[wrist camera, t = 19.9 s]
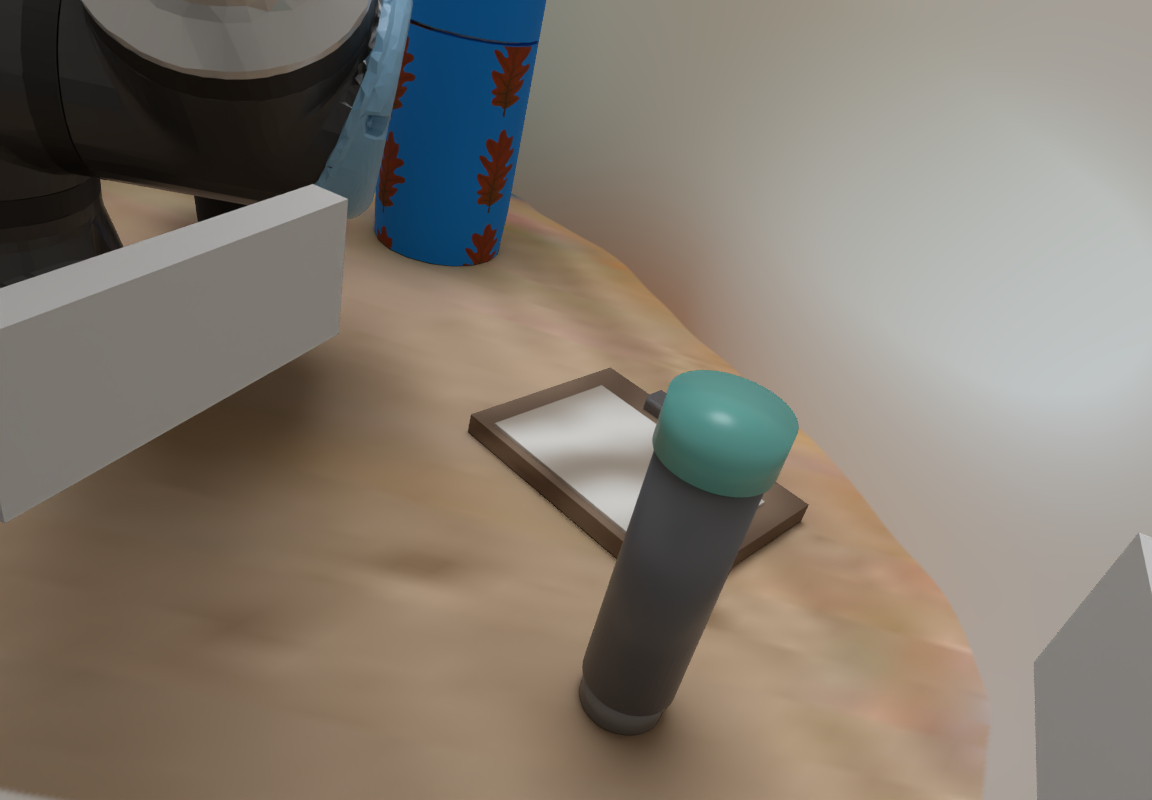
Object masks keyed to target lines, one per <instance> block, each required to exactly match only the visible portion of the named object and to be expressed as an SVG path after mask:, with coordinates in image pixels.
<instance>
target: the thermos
mask: <svg viewBox="0 0 1152 800" xmlns="http://www.w3.org/2000/svg"><path fill="white" fill-rule="evenodd" d="M412 1H413V8H412V13H411V19H410V24H409V30H408V35H407V40H406V45H405V50H404V55H403V60H402V66H401V71H400V76H399V80H398V85H397V90H396V95H395V99H394V103H393V108H392V113H391V118H390V121H389V126H388V132H387V137H386V142H385V147H384V152H383V157H382V162H381V166H380V171H379V176H378V181H377V185H376V199H375V233H376V235H377V238H378V240H379V241H381V242H382V243H383V244H384V245H385V246H387V247H388V248H389V249H391V250H393V251H395V252H397V253H399V254H402V255H404V256H406V257H408V258H412V259H416V260H419V261H423V262H427V263H431V264H440V265H448V266H466V265H476V264H480V263H483V262H487V261H489V260H491V259H492V258H493V257H495V256H496V255H497V254H498V250H499V246H500V242H501V238H502V233H503V229H504V225H505V221H506V217H507V213H508V208H509V202H510V197H511V191H512V185H513V180H514V175H515V169H516V163H517V158H518V153H519V147H520V142H521V136H522V130H523V125H524V120H525V114H526V109H527V103H528V97H529V92H530V87H531V81H532V75H533V70H534V64H535V59H536V53H537V48H538V42H539V37H540V31H541V26H542V21H543V15H544V9H545V4H546V0H412Z"/></svg>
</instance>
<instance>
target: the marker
mask: <svg viewBox="0 0 1152 800" xmlns="http://www.w3.org/2000/svg"><path fill="white" fill-rule="evenodd" d="M798 429H799V427H798V421H797V418H796V416H795V414H794V413H793V411H792V410H791V408H790V407H789V406H788V405H787V404H786V403H785V402H784V401H783V400H782V399H781V398H779V397H778V396H777V395H775V394H774V393H772V392H771V391H770V390H768V389H766V388H765V387H763V386H761V385H759V384H757V383H755V382H752V381H750V380H748V379H745V378H742V377H740V376H736V375H733V374H729V373H725V372H719V371H710V370H696V371H689V372H686V373H682V374H680V375H678V376H677V377H675V378H674V379H673V380H672V381H671V383H670V385H669V388H668V391H667V394H666V397H665V400H664V403H663V406H662V409H661V412H660V415H659V418H658V421H657V424H656V427H655V430H654V433H653V437H652V444H653V449H654V451H653V454H652V457H651V460H650V463H649V466H648V469H647V472H646V475H645V478H644V481H643V484H642V487H641V490H640V493H639V496H638V499H637V502H636V505H635V508H634V510H633V513H632V516H631V519H630V522H629V525H628V528H627V531H626V534H625V537H624V540H623V543H622V546H621V549H620V552H619V555H618V558H617V561H616V564H615V567H614V570H613V573H612V576H611V579H610V582H609V585H608V588H607V591H606V594H605V597H604V600H603V602H602V605H601V608H600V611H599V614H598V617H597V620H596V623H595V626H594V629H593V632H592V635H591V638H590V641H589V644H588V647H587V650H586V653H585V656H584V659H583V666H582V668H583V677H582V680H581V683H580V687H579V695H580V700H581V703H582V706H583V708H584V710H585V711H586V713H587V714H588V715H589V717H590V718H591V719H592V720H593V721H594V722H596V723H597V724H598V725H599V726H601V727H603V728H604V729H606V730H608V731H611V732H613V733H616V734H621V735H637V734H641V733H644V732H646V731H648V730H650V729H651V728H653V727H654V726H655V725H656V723H657V722H658V720H659V718H660V716H661V714H662V712H663V710H664V709H666V708H667V707H668V706H669V705H670V704H671V702H672V701H673V699H674V697H675V695H676V692H677V690H678V688H679V685H680V683H681V681H682V679H683V676H684V674H685V672H686V670H687V667H688V665H689V663H690V660H691V658H692V656H693V654H694V651H695V649H696V647H697V645H698V642H699V640H700V638H701V635H702V633H703V631H704V629H705V626H706V624H707V622H708V620H709V617H710V615H711V613H712V610H713V608H714V606H715V604H716V601H717V599H718V597H719V595H720V592H721V590H722V588H723V585H724V583H725V581H726V579H727V576H728V574H729V572H730V570H731V567H732V565H733V563H734V560H735V558H736V556H737V554H738V551H739V549H740V547H741V545H742V542H743V540H744V538H745V535H746V533H747V531H748V529H749V526H750V524H751V522H752V520H753V517H754V515H755V513H756V510H757V508H758V506H759V504H760V501H761V499H762V497H763V495H764V493H765V492H767V491H768V490H770V489H771V488H772V487H773V486H774V484H775V482H776V480H777V478H778V476H779V474H780V471H781V469H782V467H783V465H784V462H785V460H786V458H787V456H788V453H789V451H790V449H791V447H792V444H793V442H794V440H795V438H796V435H797V433H798Z"/></svg>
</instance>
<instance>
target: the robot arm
mask: <svg viewBox="0 0 1152 800" xmlns="http://www.w3.org/2000/svg"><path fill="white" fill-rule="evenodd" d="M412 8H413V1H412V0H0V521H2V522H3V523H7V522H8V521H10V520H12V519H14V518H15V517H17V516H19V515H21V514H22V513H24V512H26V511H28V510H29V509H31V508H33V507H35V506H37V505H38V504H40V503H42V502H44V501H45V500H47V499H49V498H51V497H52V496H54V495H56V494H58V493H59V492H61V491H63V490H65V489H66V488H68V487H70V486H72V485H74V484H75V483H77V482H79V481H81V480H82V479H84V478H86V477H88V476H89V475H91V474H93V473H95V472H96V471H98V470H100V469H102V468H103V467H105V466H107V465H109V464H111V463H112V462H114V461H116V460H118V459H119V458H121V457H123V456H125V455H126V454H128V453H130V452H132V451H133V450H135V449H137V448H139V447H140V446H142V445H144V444H146V443H148V442H149V441H151V440H153V439H155V438H156V437H158V436H160V435H162V434H163V433H165V432H167V431H169V430H170V429H172V428H174V427H176V426H177V425H179V424H181V423H183V422H184V421H186V420H188V419H190V418H192V417H193V416H195V415H197V414H199V413H200V412H202V411H204V410H206V409H207V408H209V407H211V406H213V405H214V404H216V403H218V402H220V401H221V400H223V399H225V398H227V397H229V396H230V395H232V394H234V393H236V392H237V391H239V390H241V389H243V388H244V387H246V386H248V385H250V384H251V383H253V382H255V381H257V380H258V379H260V378H262V377H264V376H266V375H267V374H269V373H271V372H273V371H274V370H276V369H278V368H280V367H281V366H283V365H285V364H287V363H288V362H290V361H292V360H294V359H295V358H297V357H299V356H301V355H303V354H304V353H306V352H308V351H310V350H311V349H313V348H315V347H317V346H318V345H320V344H322V343H324V342H325V341H327V340H329V339H331V338H332V337H334V336H336V335H338V334H339V321H340V307H341V293H342V279H343V265H344V250H345V236H346V222H347V219H351V218H354V217H357V216H359V215H360V214H362V213H363V212H364V211H365V210H366V209H367V208H368V207H369V205H370V204H371V202H372V200H373V197H374V193H375V189H376V185H377V181H378V176H379V171H380V166H381V162H382V157H383V152H384V147H385V142H386V137H387V132H388V126H389V121H390V118H391V113H392V108H393V103H394V99H395V95H396V90H397V85H398V80H399V76H400V71H401V66H402V60H403V55H404V50H405V45H406V40H407V35H408V30H409V24H410V19H411V13H412ZM100 179H103V180H110V181H116V182H122V183H127V184H133V185H138V186H144V187H150V188H155V189H161V190H166V191H172V192H178V193H183V194H189V195H194V196H200V197H206V198H211V199H217V200H222V201H228V202H234V203H239V204H244V205H248V206H245V207H242V208H240V209H237V210H234V211H231V212H228V213H225V214H222V215H219V216H216V217H213V218H210V219H207V220H204V221H201V222H198V223H195V224H192V225H189V226H186V227H183V228H180V229H177V230H174V231H171V232H168V233H165V234H162V235H159V236H156V237H153V238H150V239H147V240H144V241H141V242H138V243H135V244H132V245H129V246H126V247H123V245H122V242H121V240H120V238H119V236H118V234H117V232H116V230H115V227H114V225H113V223H112V221H111V219H110V217H109V215H108V212H107V210H106V208H105V206H104V203H103V199H102V193H101V183H100ZM1034 684H1035V685H1034V686H1035V726H1036V767H1037V800H1152V538H1151V537H1149V536H1146V535H1144V534H1142V533H1138V534H1137V535H1136V537H1135V538H1134V539H1133V541H1132V542H1131V543H1130V544H1129V546H1128V547H1127V548H1126V549H1125V550H1124V552H1123V553H1122V554H1121V555H1120V556H1119V558H1118V559H1117V560H1116V561H1115V563H1114V564H1113V565H1112V566H1111V568H1110V569H1109V570H1108V571H1107V572H1106V574H1105V575H1104V576H1103V577H1102V579H1101V580H1100V581H1099V582H1098V584H1097V585H1096V586H1095V587H1094V589H1093V590H1092V591H1091V593H1090V594H1089V595H1088V596H1087V597H1086V599H1085V600H1084V601H1083V602H1082V604H1081V605H1080V606H1079V607H1078V608H1077V610H1076V611H1075V612H1074V613H1073V615H1072V616H1071V617H1070V618H1069V619H1068V621H1067V622H1066V623H1065V624H1064V626H1063V627H1062V628H1061V629H1060V631H1059V632H1058V633H1057V634H1056V636H1055V637H1054V638H1053V639H1052V640H1051V642H1050V643H1049V644H1048V645H1047V647H1046V648H1045V649H1044V650H1043V652H1042V653H1041V654H1040V655H1039V657H1038V658H1037V659H1036V660H1035V662H1034Z"/></svg>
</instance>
